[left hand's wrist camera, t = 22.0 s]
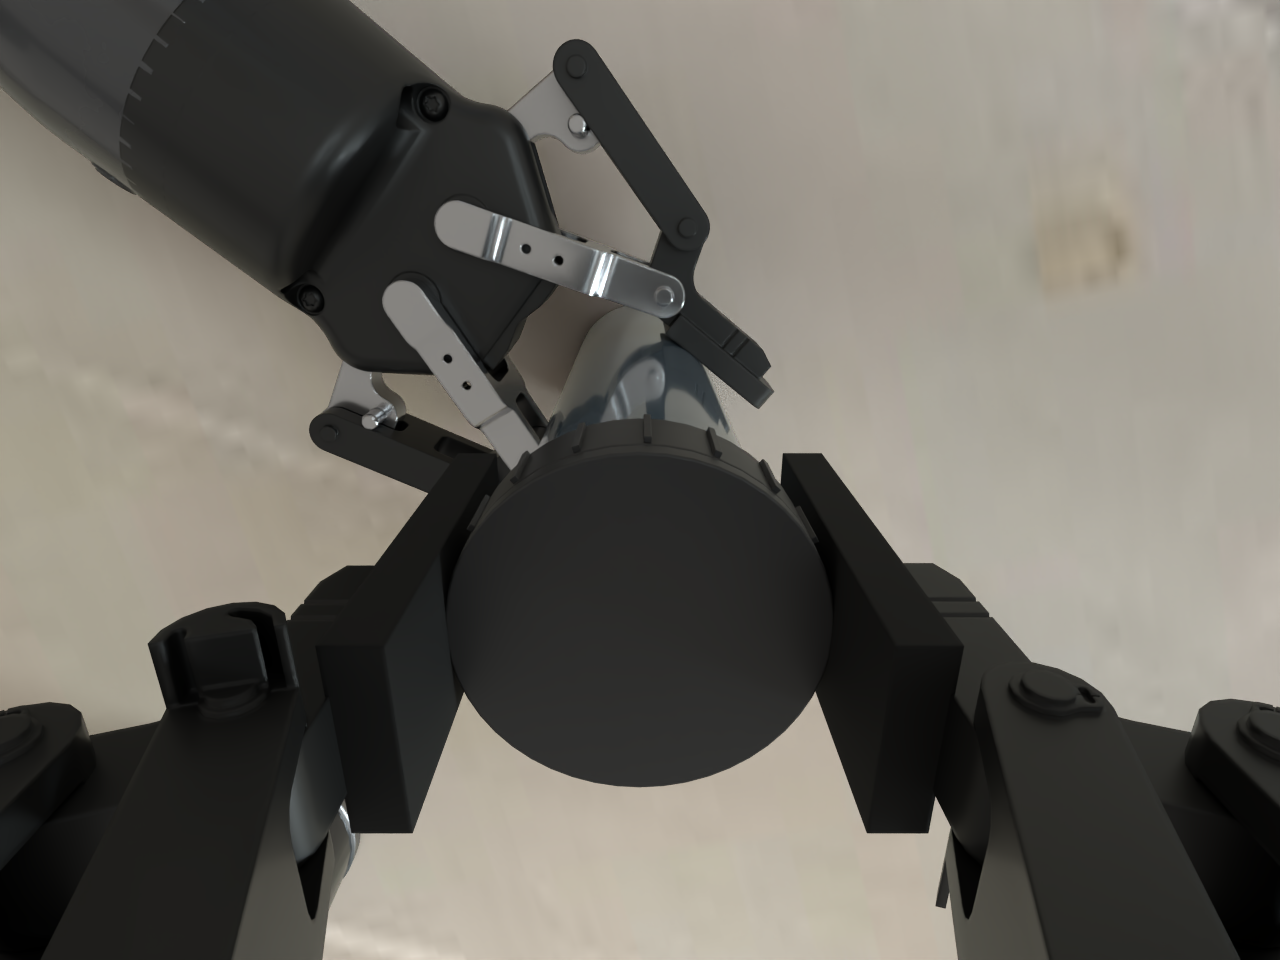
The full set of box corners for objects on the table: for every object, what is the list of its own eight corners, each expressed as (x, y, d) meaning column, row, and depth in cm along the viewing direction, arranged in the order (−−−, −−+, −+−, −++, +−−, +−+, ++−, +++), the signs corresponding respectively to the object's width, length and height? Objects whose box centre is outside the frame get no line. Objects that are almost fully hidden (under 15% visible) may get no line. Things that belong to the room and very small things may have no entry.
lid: (613, 770, 13) (609, 846, 12) (394, 551, 12) (355, 604, 10) (877, 608, 12) (913, 667, 10) (672, 336, 10) (678, 358, 9)
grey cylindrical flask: (580, 423, 29) (495, 727, 12) (577, 302, 27) (475, 457, 10) (697, 424, 29) (780, 729, 12) (703, 304, 27) (807, 460, 10)
